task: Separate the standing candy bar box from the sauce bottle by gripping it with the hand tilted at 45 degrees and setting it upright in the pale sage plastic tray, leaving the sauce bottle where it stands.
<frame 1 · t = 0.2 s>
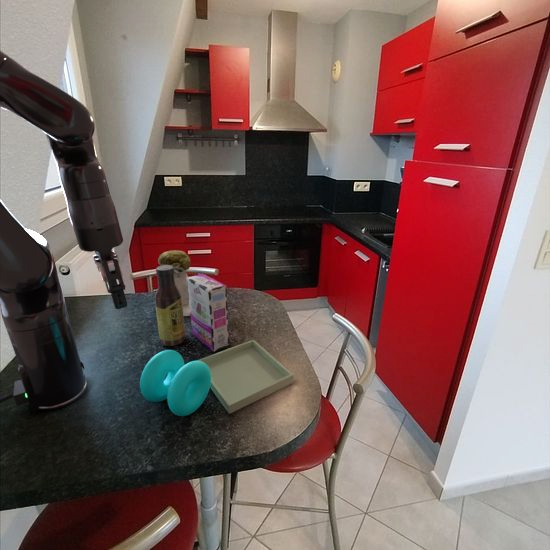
hand: (117, 299, 65), 17 cm above the table, tool pointing down, fingers open, 8 cm apart
turquoise spool: (179, 402, 63), on the table
sauce bottle: (173, 341, 83), on the table
tray: (243, 375, 70), on the table
candy bar box: (210, 340, 83), on the table
green-topped white figurine: (178, 309, 98), on the table
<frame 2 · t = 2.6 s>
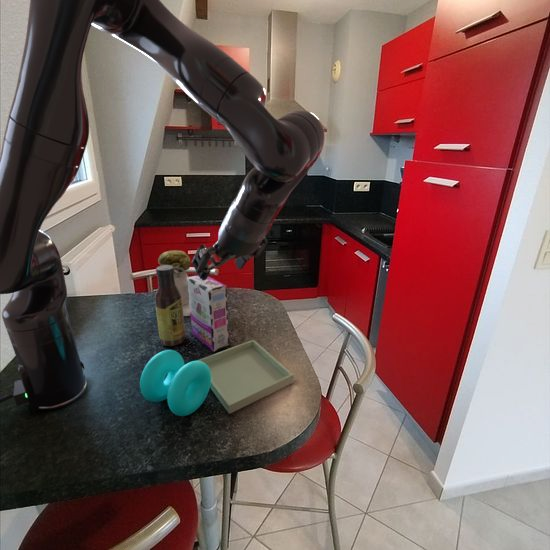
hand: (220, 271, 67), 22 cm above the table, tool tilted 40°, fingers open, 8 cm apart
nothing on the table moved.
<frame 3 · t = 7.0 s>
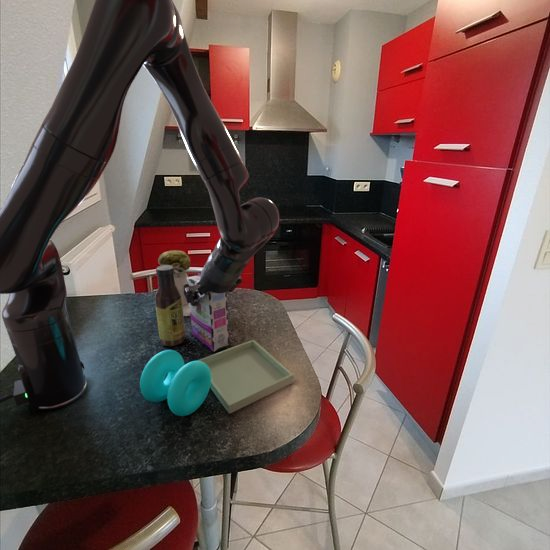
hand: (204, 299, 80), 11 cm above the table, tool tilted 45°, fingers closed on candy bar box, 5 cm apart
candy bar box: (210, 340, 83), on the table, touching gripper
everything else where it was.
when the fingers open (11 cm above the table, at t = 15.9 s): candy bar box stays where it is, resting on tray.
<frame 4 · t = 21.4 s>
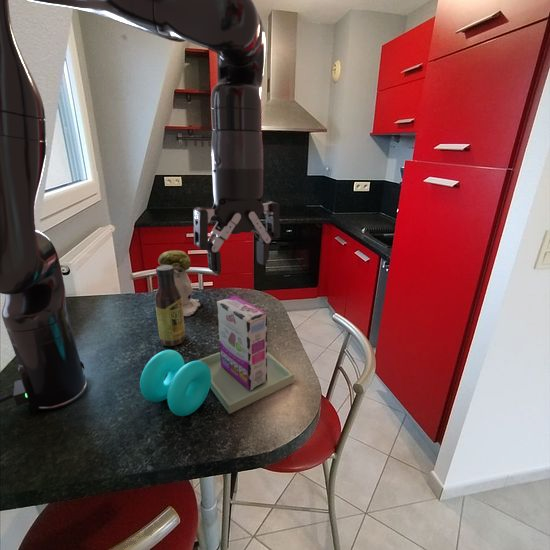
hand: (239, 267, 53), 28 cm above the table, tool pointing down, fingers open, 8 cm apart
candy bar box: (243, 374, 70), resting on tray
everything else where it was.
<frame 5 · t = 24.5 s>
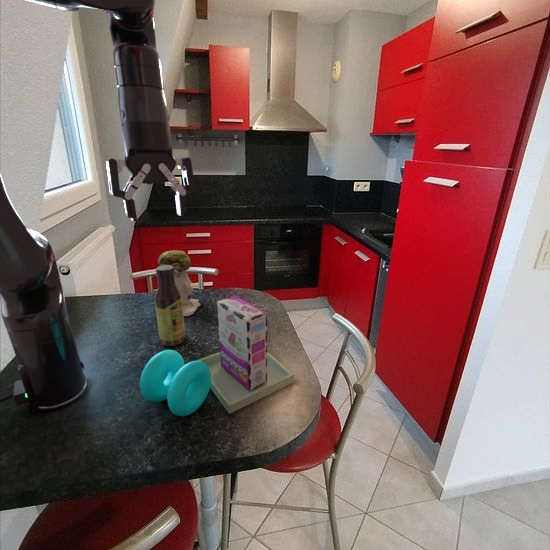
hand: (158, 217, 59), 34 cm above the table, tool pointing down, fingers open, 8 cm apart
nothing on the table moved.
at the end: candy bar box inside the target area in the tray (0.2 cm from its centre), point 0.3 cm above the tray's base; candy bar box tilted 0°; sauce bottle moved 0.2 cm from its start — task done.
